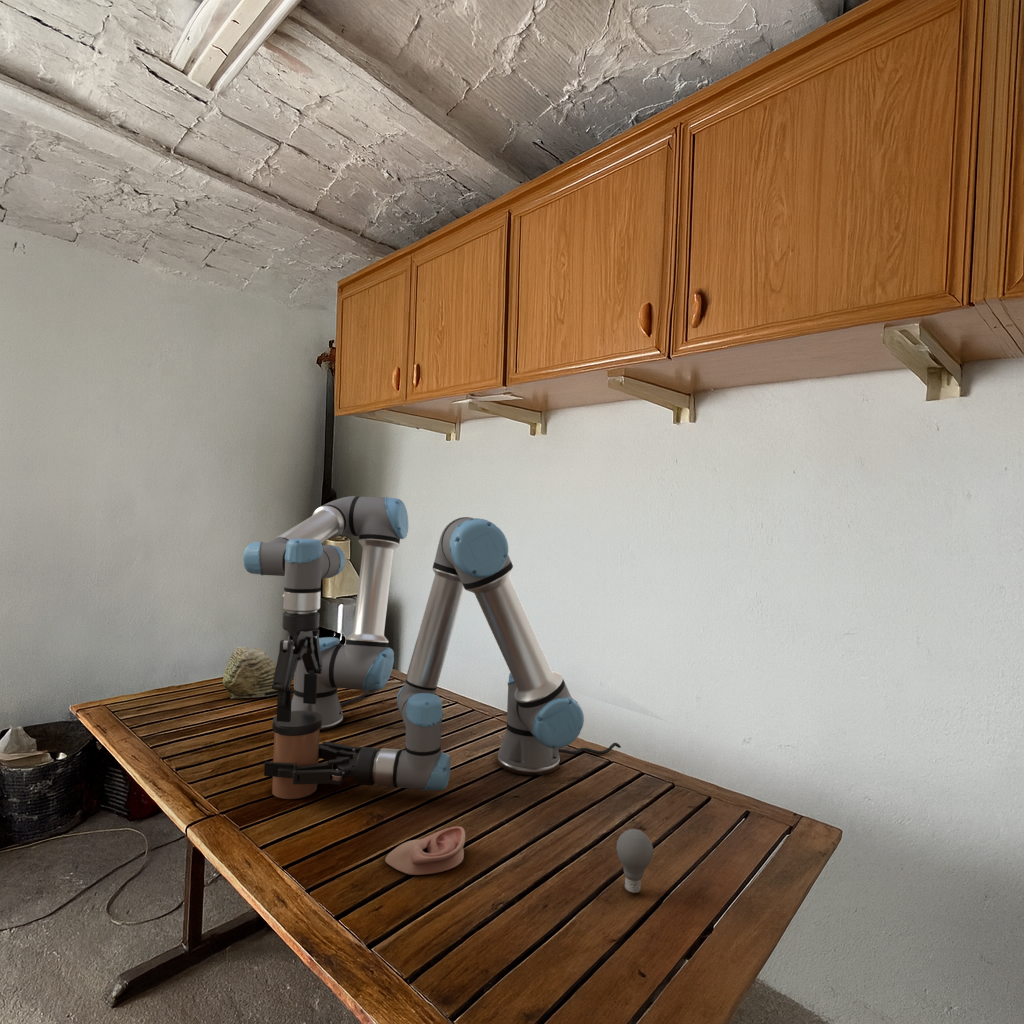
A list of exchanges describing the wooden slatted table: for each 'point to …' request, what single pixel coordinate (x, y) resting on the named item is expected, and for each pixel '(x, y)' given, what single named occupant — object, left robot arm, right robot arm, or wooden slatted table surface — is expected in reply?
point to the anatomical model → (429, 853)
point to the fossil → (249, 674)
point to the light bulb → (634, 857)
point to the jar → (294, 751)
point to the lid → (298, 723)
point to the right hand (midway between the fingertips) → (276, 758)
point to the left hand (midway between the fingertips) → (297, 711)
